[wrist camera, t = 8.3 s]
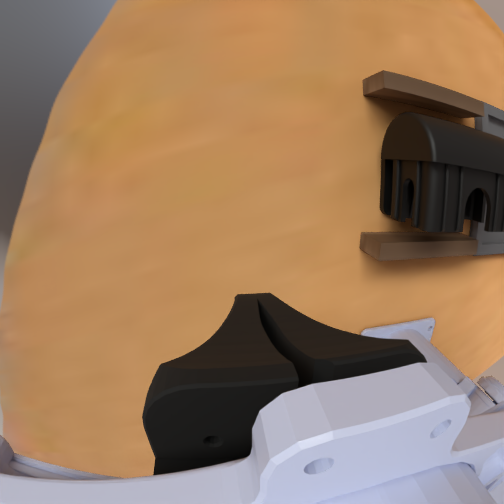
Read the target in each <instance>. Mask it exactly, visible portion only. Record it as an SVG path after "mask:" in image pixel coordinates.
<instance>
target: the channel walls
mask: <svg viewBox="0 0 504 504" xmlns="http://www.w3.org/2000/svg"><path fill="white" fill-rule="evenodd" d="M363 95H365V96H371V97H376V98H382V99H387V100H392V101H397V102H401V103H406V104H410V105H415V106H419V107H423V108H427V109H431V110H434V111H438V112H442V113H445V114H449V115H452V116H455V117H459V118H471V117H485V115H484V102H481V101H479V100H476V99H474V98H471V97H469V96H466V95H464V94H461V93H458V92H455V91H453V90H450V89H447V88H444V87H441V86H438V85H435V84H432V83H429V82H425V81H422V80H418V79H415V78H411V77H408V76H404V75H400V74H396V73H392V72H388V71H384V70H383V71H381V72H378V73H376V74H374V75H372V76H370V77H368V78H366V79H364V80H363ZM478 242H479V240H477V239H474V238H472V237H469V236H467V235H464V234H461V233H459V232H362V233H361V239H360V249H361V250H363V251H364V252H366V253H367V254H369V255H371V256H372V257H374V258H375V259H377V260H378V261H388V260H404V259H420V258H435V257H449V256H464V255H476V254H477V248H478Z"/></svg>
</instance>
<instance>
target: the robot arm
mask: <svg viewBox="0 0 504 504" xmlns="http://www.w3.org/2000/svg"><path fill="white" fill-rule="evenodd" d="M434 325H435V320H434V319H433V318H426V319H421V320H416V321H410V322H405V323H399V324H393V325H387V326H381V327H374V328H368V329H365V330H363V331H362V333H361V335H358V334H353V333H350V332H346V331H342V330H339V329H336V328H333V327H330V326H327V325H325V324H322V323H320V322H317V321H315V320H313V319H311V318H309V317H307V316H305V315H304V314H302V313H300V312H298V311H297V310H295V309H293V308H292V307H290V306H289V305H287V304H286V303H284V302H283V301H281V300H280V299H278V298H277V297H275V296H274V295H272V294H271V293H257V294H238V295H237V296H236V297H235V301H234V304H233V307H232V309H231V311H230V313H229V315H228V316H227V318H226V320H225V321H224V322H223V324H222V325H221V327H220V328H219V329H218V330H217V332H216V333H215V334H214V335H213V336H212V337H211V338H210V339H209V340H207V341H206V342H205V343H203V344H202V345H201V346H199V347H198V348H196V349H195V350H193V351H191V352H189V353H187V354H185V355H183V356H181V357H179V358H176V359H174V360H171V361H168V362H166V363H162V364H161V365H160V366H159V368H158V370H157V372H156V374H155V376H154V378H153V380H152V383H151V385H150V387H149V390H148V393H147V397H146V401H145V406H144V411H143V416H142V418H143V425H144V429H145V432H146V434H147V437H148V440H149V442H150V445H151V448H152V450H153V453H154V455H155V466H154V474H153V476H144V477H134V478H120V477H113V476H106V475H100V474H94V473H89V472H84V471H79V470H74V469H69V468H65V467H61V466H57V465H53V464H49V463H46V462H42V461H39V460H35V459H32V458H29V457H25V456H22V455H19V454H16V453H14V451H13V450H12V448H11V446H10V445H9V443H8V442H7V441H6V440H5V438H3V437H2V436H1V435H0V504H504V386H503V385H502V384H501V383H500V382H499V381H498V380H496V379H495V378H494V377H492V376H488V377H481V378H480V379H479V381H478V382H477V383H478V384H479V385H480V386H481V387H482V388H483V389H484V390H485V392H486V393H487V394H488V395H489V396H490V397H491V398H492V399H493V400H494V401H492V400H491V399H490V398H489V397H488V396H486V394H485V393H484V392H483V391H482V390H481V389H480V388H479V387H478V386H476V384H474V382H473V381H472V380H471V379H469V378H468V377H466V376H465V375H464V374H463V373H462V372H461V371H460V370H459V369H458V368H457V367H455V366H454V365H453V364H452V363H451V362H450V361H449V360H448V359H447V358H446V357H445V356H444V355H443V354H442V353H441V352H440V351H439V350H438V349H437V348H436V347H434V346H433V345H432V344H431V343H430V340H431V336H432V333H433V329H434ZM429 327H430V328H429Z"/></svg>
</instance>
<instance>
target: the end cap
mask: <svg viewBox="0 0 504 504" xmlns="http://www.w3.org/2000/svg"><path fill="white" fill-rule="evenodd" d="M381 159H382V160H381V189H380V210H381V211H382V213H384V214H387V215H391V218H392V219H394V220H397V221H400V222H405V220H406V218H412V225H411V226H413V227H415V228H418V229H420V230H423V231H427V232H463V223H464V219H469V220H474V221H477V222H480V223H484V218H485V208H486V204H487V209H486V219H485V227H484V231H487V232H504V139H503V138H501V137H498V136H495V135H492V134H489V133H486V132H483V131H480V130H477V129H474V128H471V127H467V126H464V125H461V124H457V123H454V122H450V121H446V120H442V119H439V118H435V117H430V116H426V115H422V114H418V113H413V112H405V113H402V114H400V115H398V116H397V117H396V118H394V120H393V121H392V122H391V123H390V125H389V127H388V128H387V131H386V133H385V136H384V140H383V144H382V151H381Z"/></svg>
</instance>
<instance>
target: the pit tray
mask: <svg viewBox="0 0 504 504" xmlns="http://www.w3.org/2000/svg"><path fill="white" fill-rule="evenodd" d="M481 102H482V101H481ZM484 115H485V117H475V129H477V130H480V131H483V132H486V133H489V134H492V135H495V136H498V137H501V138H503V139H504V111H503V110H500V109H498V108H496V107H494V106H491V105H489V104H487V103H485V102H484ZM486 209H487V204H486V208H485V218H484V223H480V222H477V221H474V220H471V227H470V235H469V237H472V238H474V239H477V240H479V242H478V248H477V254H476V255H473V256H477V255H490V254H502V253H504V232H487V231H484V227H485V219H486Z"/></svg>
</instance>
